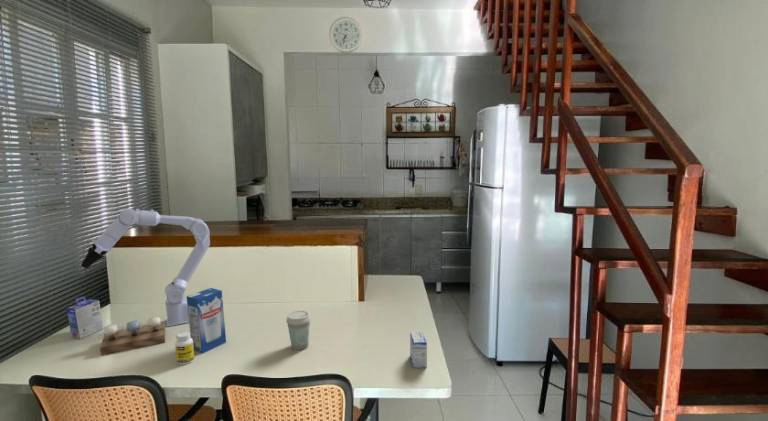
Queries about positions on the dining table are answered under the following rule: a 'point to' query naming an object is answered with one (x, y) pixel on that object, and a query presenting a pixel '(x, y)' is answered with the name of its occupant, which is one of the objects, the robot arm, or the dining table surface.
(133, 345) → the knob panel
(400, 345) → the dining table surface
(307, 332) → the coffee cup
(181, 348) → the supplement bottle
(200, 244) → the robot arm
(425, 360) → the medicine box
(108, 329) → the knob
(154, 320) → the knob
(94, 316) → the ink cartridge box
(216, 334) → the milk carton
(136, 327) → the middle knob
